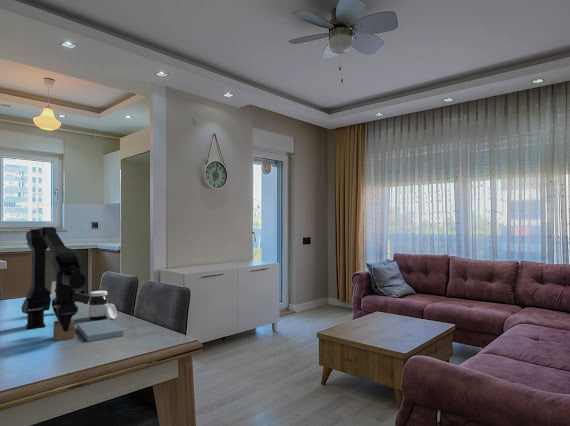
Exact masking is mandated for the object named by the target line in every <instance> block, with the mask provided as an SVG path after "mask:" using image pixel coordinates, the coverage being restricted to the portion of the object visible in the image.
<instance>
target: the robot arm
mask: <svg viewBox="0 0 570 426" xmlns="http://www.w3.org/2000/svg"><path fill="white" fill-rule="evenodd" d="M25 239H26V241H27V242H26V244H27V246H28V247H29V249H30V251H31V276H30V277H31V281H30V282H31V284H30V285H31V286H30V288H29V289H28V291H27V292H26V294H25V299H24V301H23V303H22V305H21V313H23V314H25V315H26V316H27V317H26V321H27V322H26V323H27V324H25V325H24V326H25V329H26V330H31V329H36V328H43V327H46V323H45V322H44V321H45V311H49V310H50V308H51V307H52V308H51V309H52V311H53V310H54V313H55V315H54V316H56V319H57V321H60V323H61V325H62V328H63V330H64V332H67V331H68V328H69V325H70V321H71V319H73V317H74V316H75V315H76V314H77V313H78V312H79V306H78V305H77V304H76V303H81V304H84V305H89V299H90V297H91V296H90V295H89V294H88V293H86V291H85V290H84V289H81V288H82V287H84V286H85V284H86V281H87V279H86V276H85V275H84V273H82V272H81V271H82V264H81V262H80V259H79V257H78V255H77V253H76V252H75V251H74V250H73V249H71V248H69V247H66V245H65V244H64V242H63V240H62V239H61V237H60V236H59V234H58V232H57V228H56V227H54V226H42V227H40V228H34V229H33V228H32V229H29V231H27V232H26V233H25ZM47 249H49V251H50V253H51V254H52V257H51V263H52V265H53V268H54V269H55V271H54V274H55V281H56V289H55V292H56V296H55V299H54V300H52V296H51V290H48V288H47V287H46V255H47V253H46V251H47ZM76 289H77V290H78V291H76ZM79 289H80V290H79ZM54 306H55V307H54Z"/></svg>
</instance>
